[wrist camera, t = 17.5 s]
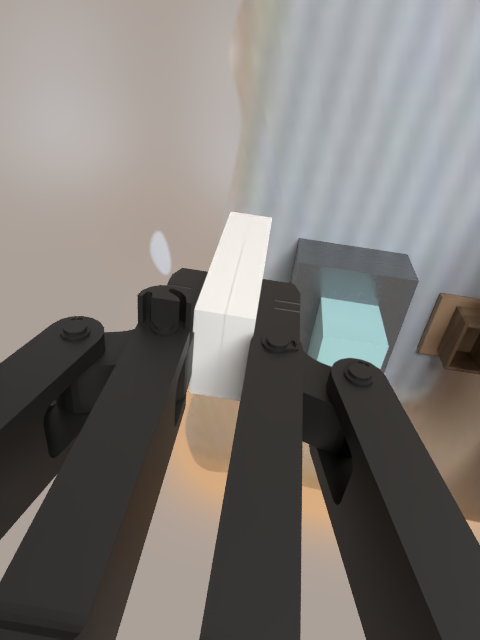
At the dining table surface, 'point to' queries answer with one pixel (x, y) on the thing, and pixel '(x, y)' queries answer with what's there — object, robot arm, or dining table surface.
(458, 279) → the dining table surface
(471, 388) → the dining table surface
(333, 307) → the teal and white block
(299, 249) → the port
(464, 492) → the dining table surface
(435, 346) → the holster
